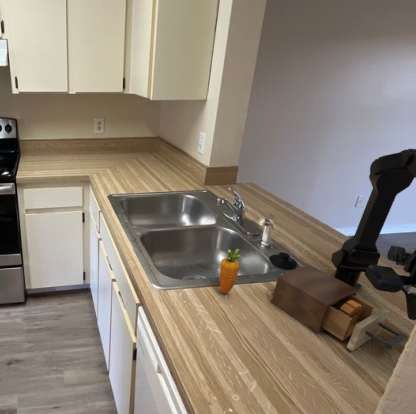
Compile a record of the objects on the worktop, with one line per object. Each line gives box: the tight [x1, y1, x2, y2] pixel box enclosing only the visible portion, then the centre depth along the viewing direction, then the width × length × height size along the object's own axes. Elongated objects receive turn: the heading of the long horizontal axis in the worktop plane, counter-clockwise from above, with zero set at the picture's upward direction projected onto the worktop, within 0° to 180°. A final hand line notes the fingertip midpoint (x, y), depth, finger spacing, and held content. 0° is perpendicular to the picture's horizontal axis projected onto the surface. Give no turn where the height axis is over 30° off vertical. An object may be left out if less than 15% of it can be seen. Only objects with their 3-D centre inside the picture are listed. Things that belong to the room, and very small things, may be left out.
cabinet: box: [270, 263, 359, 334], centre depth 87 cm, size 13×13×9 cm
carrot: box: [219, 248, 242, 295], centre depth 92 cm, size 5×5×15 cm
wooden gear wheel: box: [340, 300, 363, 325], centre depth 80 cm, size 6×6×2 cm
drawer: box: [322, 295, 408, 352], centre depth 78 cm, size 17×12×7 cm
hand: (411, 318), depth 68 cm, fingers closed
